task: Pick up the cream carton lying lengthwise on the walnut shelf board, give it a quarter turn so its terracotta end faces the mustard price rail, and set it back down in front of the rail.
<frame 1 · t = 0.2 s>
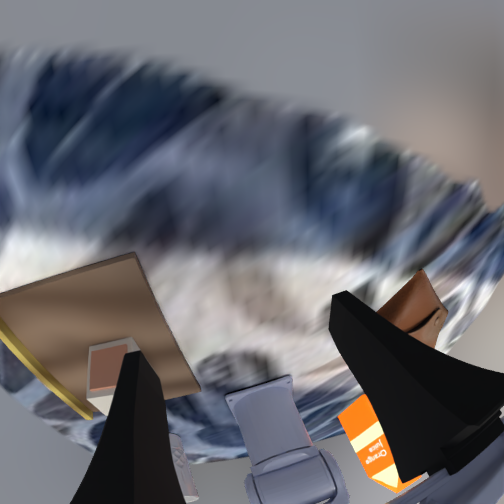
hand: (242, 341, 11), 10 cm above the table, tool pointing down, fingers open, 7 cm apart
white cup: (157, 438, 36), on the table
carton: (117, 352, 22), point 1 cm above the table, touching shelf board
shelf board: (100, 354, 23), on the table
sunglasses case: (413, 311, 36), on the table
orange juice: (363, 402, 50), on the table
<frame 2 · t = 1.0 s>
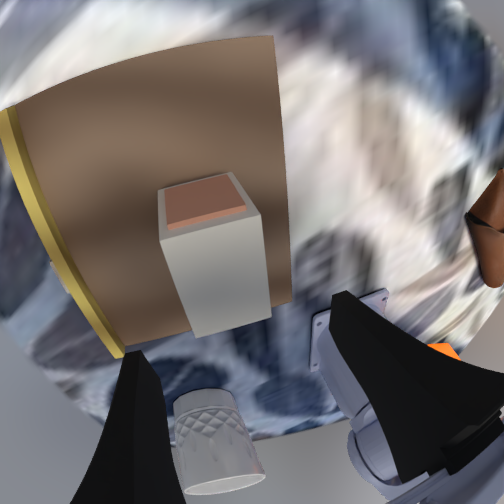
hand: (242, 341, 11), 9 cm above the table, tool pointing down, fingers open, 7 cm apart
white cup: (202, 401, 30), on the table
carton: (200, 205, 16), point 1 cm above the table, touching shelf board
shelf board: (166, 217, 17), on the table
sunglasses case: (488, 228, 29), on the table
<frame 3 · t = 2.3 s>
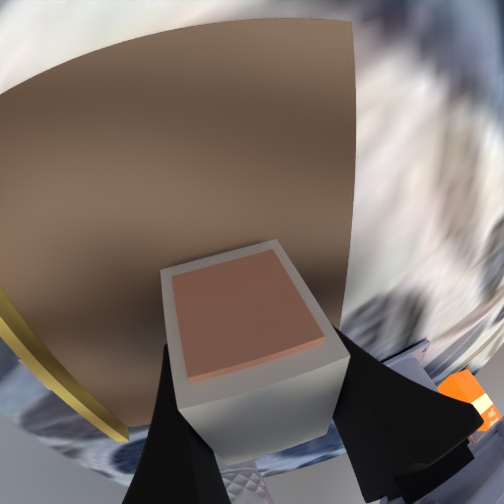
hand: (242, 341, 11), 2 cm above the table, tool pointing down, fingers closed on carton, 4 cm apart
white cup: (216, 456, 24), on the table
carton: (226, 287, 11), point 1 cm above the table, touching gripper, shelf board
shelf board: (175, 299, 11), on the table
orange juice: (444, 385, 38), on the table
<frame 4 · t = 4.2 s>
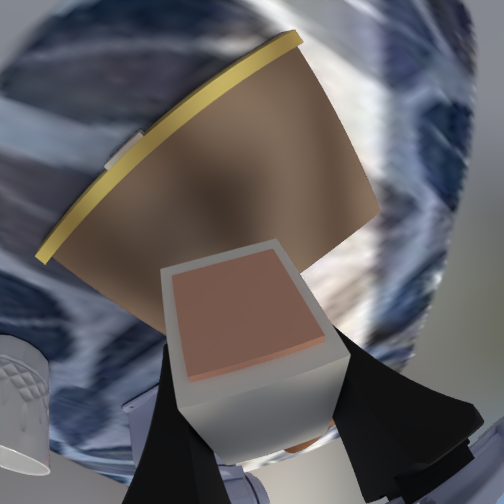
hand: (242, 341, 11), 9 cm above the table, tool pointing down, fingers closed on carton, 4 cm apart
white cup: (17, 356, 19), on the table
carton: (226, 286, 11), point 8 cm above the table, touching gripper
shelf board: (222, 219, 18), on the table
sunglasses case: (316, 409, 42), on the table
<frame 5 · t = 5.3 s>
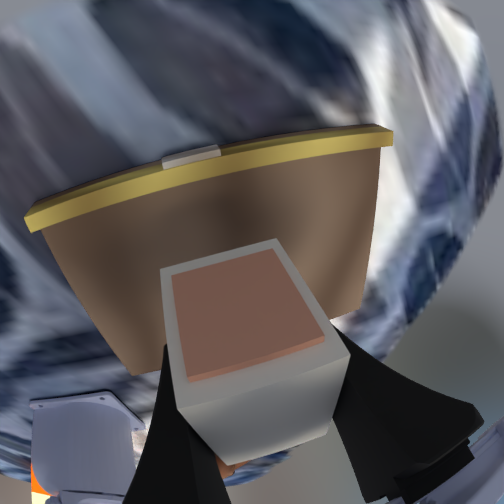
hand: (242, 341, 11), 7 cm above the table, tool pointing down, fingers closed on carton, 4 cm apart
carton: (226, 286, 11), point 5 cm above the table, touching gripper
shelf board: (232, 266, 17), on the table
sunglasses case: (211, 459, 38), on the table
orange juice: (56, 468, 31), on the table
when the fingers open (3 cm above the table, at t = 6.3 s): carton stays where it is, resting on shelf board.
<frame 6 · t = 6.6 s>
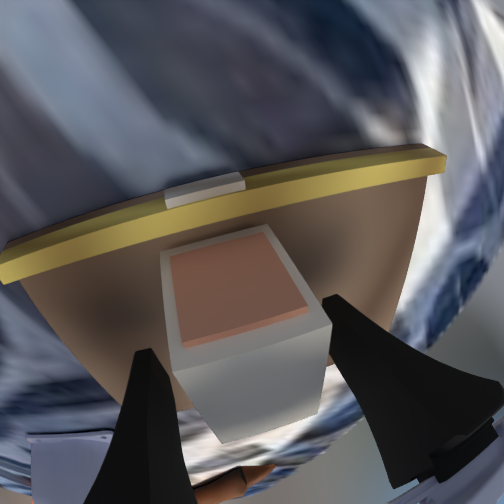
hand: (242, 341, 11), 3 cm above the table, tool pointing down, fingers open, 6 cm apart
carton: (221, 269, 12), point 1 cm above the table, touching shelf board
shelf board: (251, 312, 14), on the table
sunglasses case: (219, 478, 36), on the table
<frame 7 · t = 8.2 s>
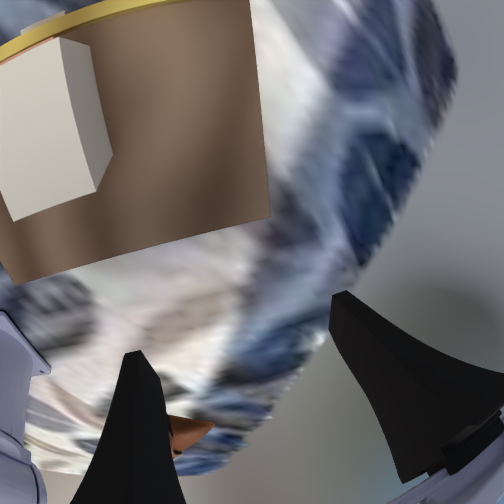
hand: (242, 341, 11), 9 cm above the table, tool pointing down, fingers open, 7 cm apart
carton: (58, 86, 11), point 1 cm above the table, touching shelf board
shelf board: (92, 140, 13), on the table
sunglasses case: (157, 436, 35), on the table
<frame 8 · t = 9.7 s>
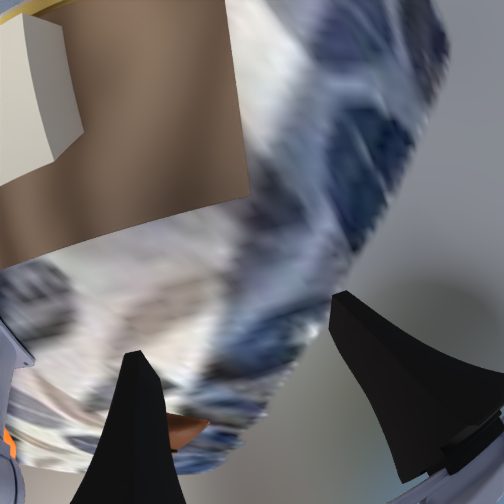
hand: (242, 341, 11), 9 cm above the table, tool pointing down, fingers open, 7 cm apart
carton: (31, 67, 9), point 1 cm above the table, touching shelf board
shelf board: (65, 119, 12), on the table
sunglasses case: (153, 434, 35), on the table
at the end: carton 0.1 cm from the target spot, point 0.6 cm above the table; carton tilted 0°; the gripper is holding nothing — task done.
